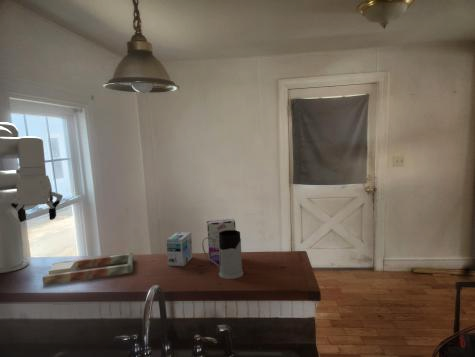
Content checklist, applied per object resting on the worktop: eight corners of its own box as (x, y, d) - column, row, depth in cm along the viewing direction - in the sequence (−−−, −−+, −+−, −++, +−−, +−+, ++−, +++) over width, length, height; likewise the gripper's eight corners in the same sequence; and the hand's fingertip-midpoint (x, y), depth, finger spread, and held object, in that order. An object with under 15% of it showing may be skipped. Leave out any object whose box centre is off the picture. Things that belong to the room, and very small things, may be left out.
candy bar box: (235, 257, 125) (233, 218, 124) (237, 261, 121) (235, 220, 119) (208, 260, 123) (206, 220, 122) (209, 264, 118) (207, 223, 117)
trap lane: (43, 285, 104) (42, 277, 104) (54, 270, 118) (53, 263, 117) (132, 272, 113) (131, 264, 113) (133, 260, 126) (132, 253, 126)
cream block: (49, 281, 108) (48, 270, 108) (55, 274, 115) (54, 263, 114) (71, 278, 110) (70, 268, 110) (75, 271, 117) (74, 261, 116)
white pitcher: (243, 278, 104) (242, 235, 103) (202, 280, 104) (200, 237, 103) (242, 268, 113) (241, 229, 112) (204, 270, 113) (203, 230, 112)
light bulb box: (183, 266, 117) (182, 239, 116) (167, 266, 118) (165, 239, 117) (193, 257, 127) (191, 232, 126) (178, 256, 129) (176, 231, 128)
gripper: (-1, 174, 102) (4, 224, 103) (55, 171, 104) (59, 220, 106) (11, 172, 109) (16, 219, 110) (63, 170, 112) (68, 216, 113)
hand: (37, 220), depth 108 cm, fingers open, 9 cm apart
